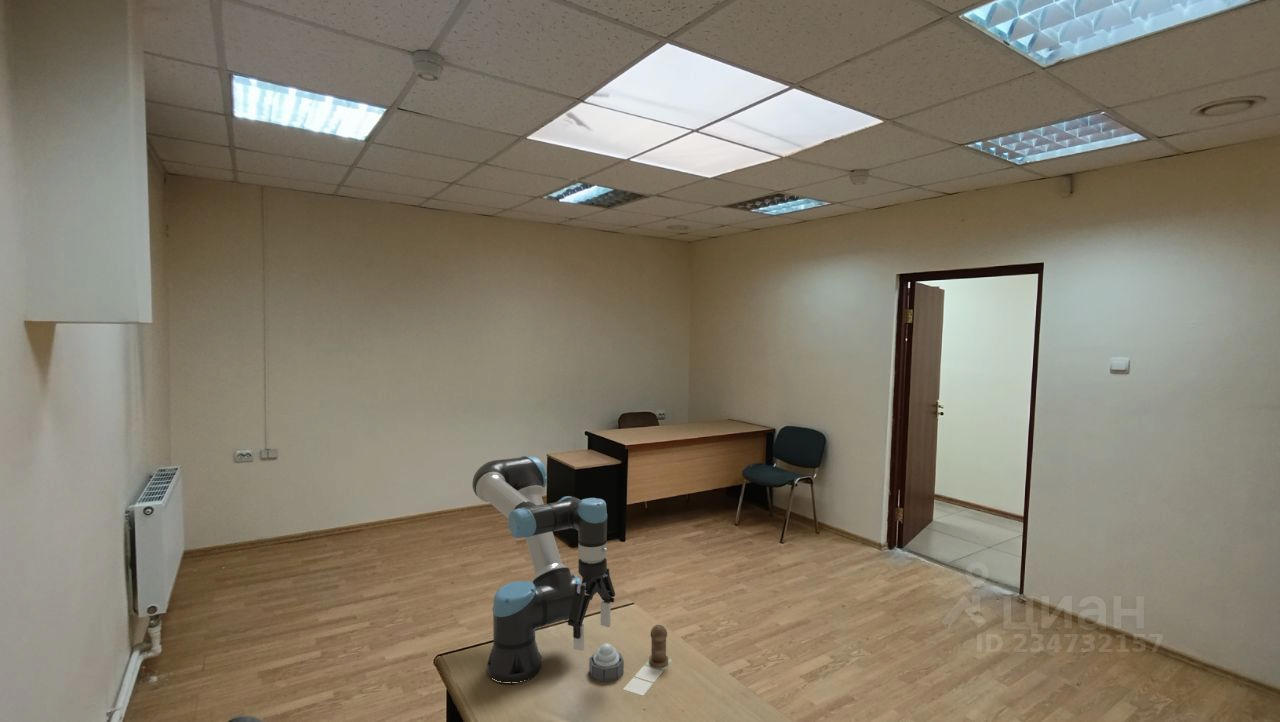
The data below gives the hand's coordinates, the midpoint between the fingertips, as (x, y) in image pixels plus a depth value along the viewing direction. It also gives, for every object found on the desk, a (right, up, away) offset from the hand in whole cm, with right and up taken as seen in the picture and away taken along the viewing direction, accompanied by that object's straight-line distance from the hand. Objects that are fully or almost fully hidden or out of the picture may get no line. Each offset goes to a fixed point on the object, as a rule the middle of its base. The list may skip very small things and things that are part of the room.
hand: (592, 637), depth 153 cm
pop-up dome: (+3, -11, +7) cm, 13 cm away
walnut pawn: (+18, -13, +12) cm, 25 cm away
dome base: (+3, -14, +7) cm, 16 cm away
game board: (+15, -14, +6) cm, 22 cm away
